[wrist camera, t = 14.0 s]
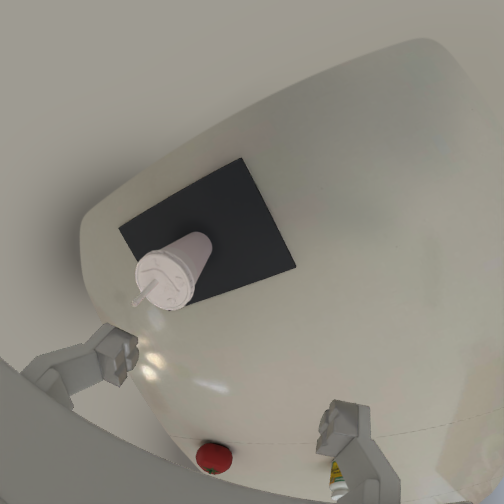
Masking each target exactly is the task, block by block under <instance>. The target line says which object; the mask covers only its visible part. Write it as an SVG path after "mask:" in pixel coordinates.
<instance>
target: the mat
mask: <svg viewBox="0 0 504 504" xmlns="http://www.w3.org/2000/svg"><path fill="white" fill-rule="evenodd" d="M119 230H120V232H121V234H122V236H123V237H124V239H125V241H126V243H127V244H128V246H129V248H130V249H131V251H132V253H133V255H134V256H135V258H136V260H137V261H138V262H139V261H140V259H142V258H143V257H144V256H145V255H146V254H147V253H149V252H151V251H154V250H160V249H162V248H164V247H166V246H167V245H169V244H171V243H173V242H175V241H177V240H179V239H181V238H182V237H184V236H186V235H188V234H190V233H192V232H201V233H203V234H205V235H206V236H207V237H208V238H209V239H210V241H211V243H212V252H211V254H210V256H209V258H208V260H207V262H206V264H205V266H204V268H203V270H202V272H201V274H200V276H199V278H198V280H197V282H196V284H195V290H194V294H193V296H192V298H191V299H190V301H189V302H187V304H186V305H185V306H187V305H190V304H193V303H196V302H199V301H202V300H205V299H207V298H210V297H213V296H216V295H219V294H222V293H225V292H228V291H231V290H234V289H237V288H240V287H243V286H245V285H248V284H251V283H254V282H257V281H260V280H263V279H265V278H268V277H271V276H274V275H277V274H279V273H282V272H285V271H288V270H291V269H293V268H296V265H295V263H294V261H293V259H292V257H291V254H290V252H289V250H288V248H287V246H286V244H285V242H284V240H283V238H282V236H281V234H280V232H279V230H278V228H277V226H276V224H275V222H274V220H273V218H272V216H271V214H270V212H269V210H268V208H267V206H266V204H265V202H264V200H263V198H262V196H261V194H260V192H259V190H258V188H257V186H256V185H255V183H254V181H253V179H252V177H251V175H250V173H249V171H248V169H247V167H246V165H245V163H244V161H243V159H242V158H239V159H238V160H236V161H234V162H232V163H230V164H228V165H226V166H224V167H222V168H220V169H218V170H217V171H215V172H213V173H211V174H209V175H207V176H206V177H204V178H202V179H200V180H198V181H196V182H195V183H193V184H191V185H189V186H188V187H186V188H184V189H182V190H181V191H179V192H177V193H175V194H174V195H172V196H170V197H168V198H167V199H165V200H163V201H162V202H160V203H158V204H157V205H155V206H153V207H152V208H150V209H148V210H147V211H145V212H143V213H142V214H140V215H139V216H137V217H135V218H134V219H132V220H131V221H129V222H127V223H126V224H124V225H123V226H121V227H119ZM183 307H184V306H183ZM168 311H171V310H168Z"/></svg>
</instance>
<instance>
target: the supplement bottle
mask: <svg viewBox="0 0 504 504" xmlns="http://www.w3.org/2000/svg"><path fill="white" fill-rule="evenodd" d="M329 488H330V490H331V491H332V496H331V499H332V500H335V501H337V499H339V498H340V497H342V496H343V495H345V494H346V493H348V492H349V489H348V487H347V485H346V483H345V480H344V478H343V476H342V474H341V471H340V469H339V467H338V465H337V462H336V460H335V459H334V460H333V462H332V468H331V477H330V485H329Z"/></svg>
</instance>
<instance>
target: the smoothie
mask: <svg viewBox="0 0 504 504" xmlns="http://www.w3.org/2000/svg"><path fill="white" fill-rule="evenodd" d="M211 252H212V243H211V241H210V239H209V238H208V237H207V236H206V235H205V234H203V233H201V232H192V233H190V234H188V235H186V236H184V237H182V238H181V239H179V240H177V241H175V242H173V243H171V244H169V245H167V246H166V247H164V248H162V249H160V250H154V251H151V252H149V253H147V254H146V255H145V256H144V257H143V258H142V259H140V261H139V262H138V264H137V266H136V270H135V278H136V282H137V285H138V288H139V290H140V291H141V293H140V294H139V295H138V296H137V297H136V298H135V299H134V300H133V301H132V302H131V304H132V306H133V307H136V306H137V305H138V304H139V303H140V302H141V301H142V300H143V299H144V298H146V299H147V300H148V301H149V302H151V303H152V304H153V305H155V306H157V307H159V308H162V309H165V310H177V309H180V308H182V307H183V306H185V305H186V304H187V302H189V301H190V299H191V298H192V296H193V294H194V290H195V284H196V282H197V280H198V278H199V276H200V274H201V272H202V270H203V268H204V266H205V264H206V262H207V260H208V258H209V256H210V254H211Z"/></svg>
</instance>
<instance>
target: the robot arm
mask: <svg viewBox="0 0 504 504" xmlns="http://www.w3.org/2000/svg"><path fill="white" fill-rule="evenodd" d="M137 344H138V337H136V336H134V335H132V334H130V333H128V332H126V331H124V330H121V329H119V328H117V327H115V326H113V325H111V324H109V323H105V324H103V325H102V326H101V327H100V328H99V329H98V330H97V331H96V332H95V333H94V335H92V337H91V338H90V339H89V340H88V341H87V342H86V343H85V344H84V345H83V344H77V345H74V346H71V347H67V348H64V349H60V350H57V351H53V352H50V353H47V354H43V355H40V356H37V357H36V358H35V359H34V360H33V361H32V362H31V363H30V364H29V365H28V366H27V367H26V368H25V369H24V370H23V371H22V372H21V373H19V372H18V371H16V370H15V369H14V368H13V367H11V366H10V365H9V364H8V363H7V362H6V361H4V360H3V359H2V358H1V357H0V504H400V495H401V485H400V479H399V477H398V476H397V474H396V472H395V471H394V469H393V468H392V466H391V465H390V463H389V462H388V460H387V459H386V457H385V456H384V454H383V453H382V451H381V450H380V448H379V447H378V445H377V444H376V442H375V441H374V440H372V439H371V425H370V407H369V406H365V405H360V404H356V403H350V402H345V401H340V400H335V399H334V400H333V401H332V402H331V403H330V407H329V409H328V410H326V411H325V412H324V414H323V416H322V418H321V421H320V425H319V433H320V434H321V436H320V437H319V439H318V440H317V446H316V454H321V455H325V456H331V457H335V460H336V462H337V465H338V467H339V469H340V471H341V474H342V476H343V478H344V480H345V483H346V485H347V487H348V489H349V492H348V493H346V494H345V495H343V496H342V497H340V498H339V499H337V503H329V502H321V501H314V500H307V499H301V498H295V497H290V496H285V495H280V494H275V493H270V492H266V491H261V490H257V489H253V488H249V487H246V486H242V485H238V484H235V483H231V482H228V481H225V480H221V479H218V478H215V477H212V476H209V475H206V474H203V473H200V472H197V471H194V470H192V469H189V468H186V467H183V466H181V465H178V464H176V463H173V462H171V461H168V460H166V459H164V458H161V457H159V456H157V455H154V454H152V453H150V452H148V451H145V450H143V449H141V448H139V447H137V446H135V445H133V444H131V443H129V442H127V441H125V440H123V439H121V438H119V437H117V436H115V435H113V434H111V433H109V432H107V431H106V430H104V429H102V428H100V427H99V426H97V425H95V424H93V423H92V422H90V421H88V420H87V419H85V418H83V417H82V416H80V415H78V414H77V413H75V412H73V411H72V409H73V408H74V406H73V403H72V401H71V399H70V396H71V395H73V394H75V393H77V392H79V391H82V390H84V389H86V388H88V387H90V386H92V385H94V384H97V383H99V382H101V381H103V380H105V381H107V382H109V383H112V384H114V385H116V386H118V387H120V386H121V385H122V384H123V382H124V381H125V379H126V378H127V372H128V371H131V370H133V368H134V367H135V366H136V364H137V361H138V358H139V350H138V348H137V347H136V345H137ZM446 504H473V503H472V502H469V501H462V502H455V503H446Z"/></svg>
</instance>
